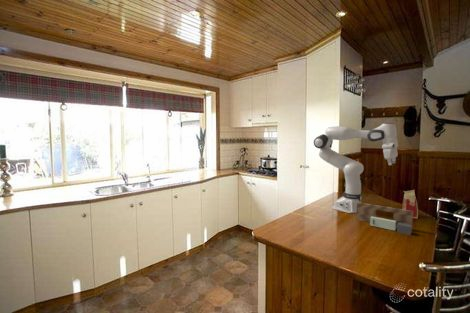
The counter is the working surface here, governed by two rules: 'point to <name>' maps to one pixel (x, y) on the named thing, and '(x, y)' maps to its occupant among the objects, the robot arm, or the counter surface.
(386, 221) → the sliding door
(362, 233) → the counter surface
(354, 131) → the robot arm
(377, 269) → the counter surface
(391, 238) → the counter surface
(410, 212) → the wall frame
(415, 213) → the milk carton
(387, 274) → the counter surface
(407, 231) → the block
